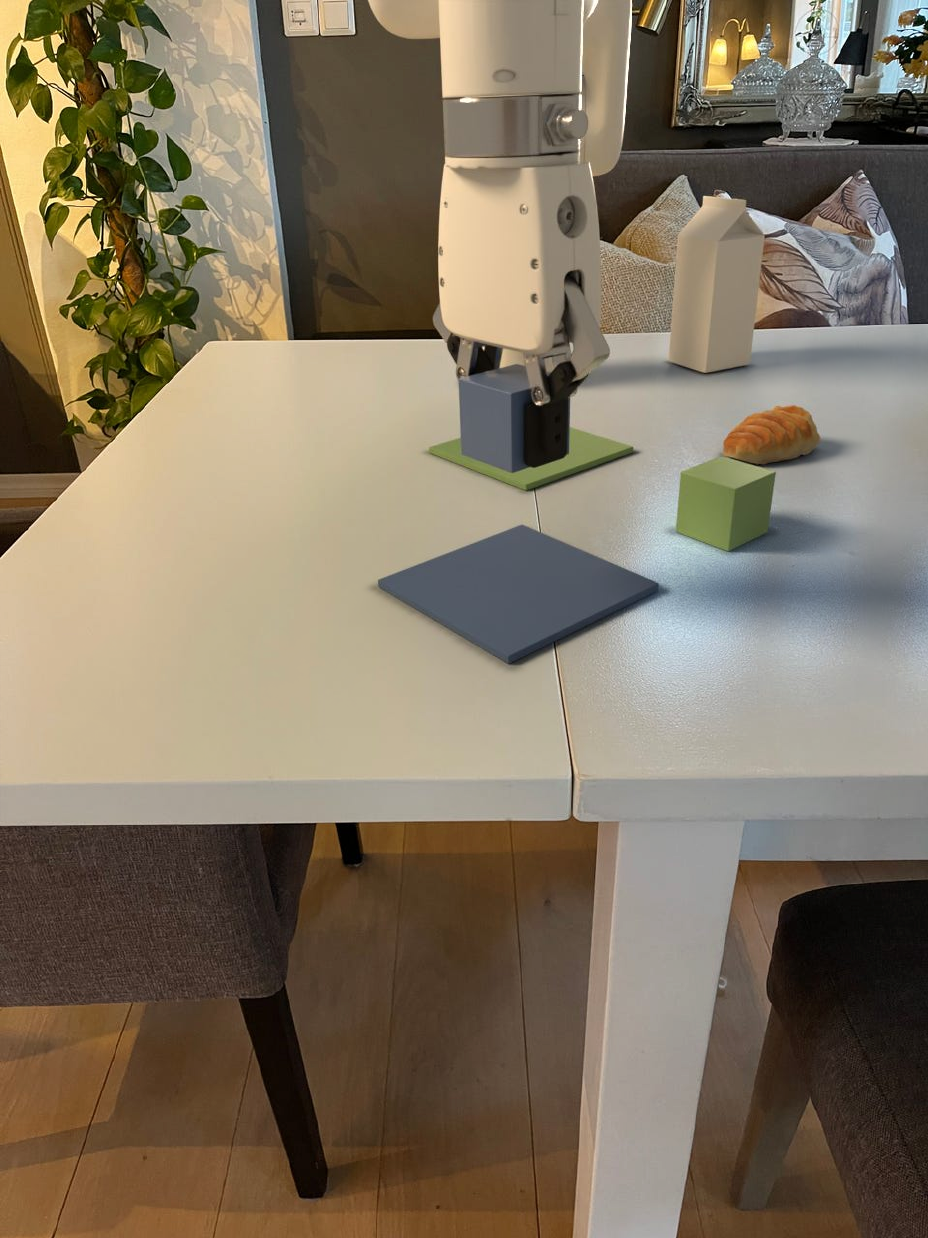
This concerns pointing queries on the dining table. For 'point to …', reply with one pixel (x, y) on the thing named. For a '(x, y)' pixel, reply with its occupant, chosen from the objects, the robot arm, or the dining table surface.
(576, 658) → the dining table surface
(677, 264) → the milk carton
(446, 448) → the green mat
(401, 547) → the dining table surface
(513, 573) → the blue mat
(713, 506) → the green block
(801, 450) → the pastry
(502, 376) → the blue block
